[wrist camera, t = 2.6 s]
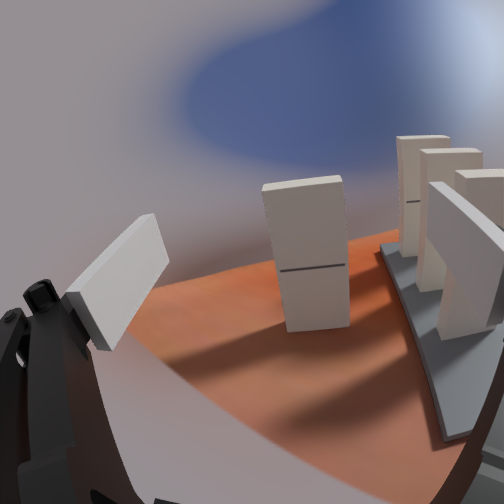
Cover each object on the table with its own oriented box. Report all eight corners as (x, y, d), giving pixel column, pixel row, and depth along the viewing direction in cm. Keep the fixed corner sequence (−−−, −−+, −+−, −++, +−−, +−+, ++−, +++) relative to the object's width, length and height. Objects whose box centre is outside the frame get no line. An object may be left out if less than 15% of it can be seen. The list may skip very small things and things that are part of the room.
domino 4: (435, 326, 24) (454, 170, 17) (488, 316, 22) (515, 168, 16) (441, 340, 22) (466, 177, 16) (495, 328, 21) (529, 176, 14)
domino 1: (288, 320, 31) (263, 184, 24) (347, 314, 30) (339, 174, 23) (287, 332, 29) (261, 191, 23) (349, 326, 28) (342, 181, 22)
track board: (380, 250, 38) (380, 243, 38) (446, 242, 36) (447, 236, 36) (443, 442, 15) (447, 436, 15) (544, 405, 13) (550, 398, 13)
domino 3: (415, 282, 30) (419, 149, 23) (462, 275, 28) (473, 147, 22) (420, 292, 28) (426, 153, 22) (468, 284, 27) (483, 152, 20)
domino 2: (398, 250, 36) (396, 136, 29) (440, 245, 35) (443, 135, 28) (402, 257, 34) (401, 139, 28) (445, 252, 33) (450, 138, 26)
